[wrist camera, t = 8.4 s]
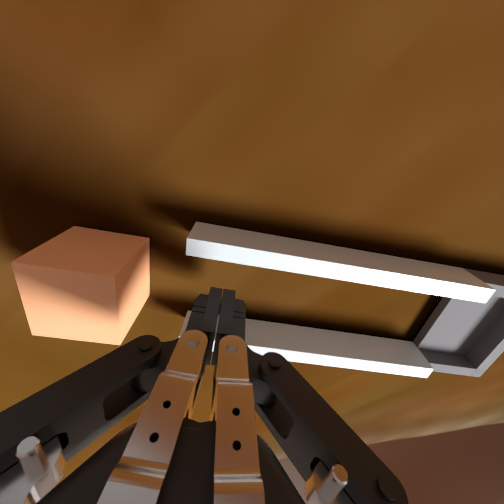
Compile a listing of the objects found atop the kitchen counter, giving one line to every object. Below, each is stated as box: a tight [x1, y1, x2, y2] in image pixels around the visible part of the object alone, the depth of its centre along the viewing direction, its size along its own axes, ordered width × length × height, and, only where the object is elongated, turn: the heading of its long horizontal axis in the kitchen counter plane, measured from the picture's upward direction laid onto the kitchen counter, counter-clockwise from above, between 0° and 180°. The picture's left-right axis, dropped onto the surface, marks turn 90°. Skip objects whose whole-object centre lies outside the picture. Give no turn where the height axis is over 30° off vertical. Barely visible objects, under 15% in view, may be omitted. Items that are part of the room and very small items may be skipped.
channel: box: [179, 222, 495, 378], centre depth 16 cm, size 18×8×2 cm, turn 79°
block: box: [11, 226, 150, 345], centre depth 14 cm, size 4×4×4 cm
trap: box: [413, 268, 504, 377], centre depth 18 cm, size 5×8×2 cm, turn 169°
